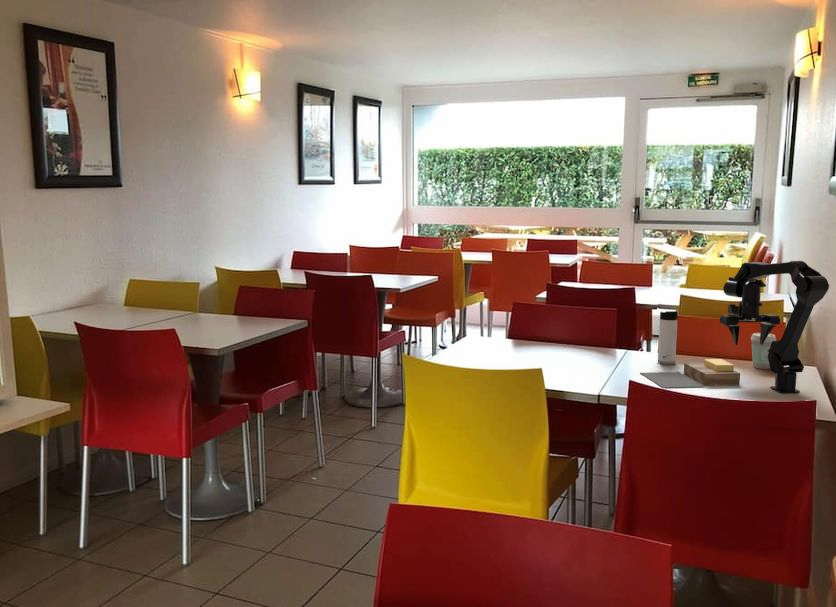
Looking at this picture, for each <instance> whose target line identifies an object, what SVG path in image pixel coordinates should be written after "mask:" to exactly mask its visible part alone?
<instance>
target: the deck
mask: <svg viewBox="0 0 836 607" xmlns="http://www.w3.org/2000/svg"><path fill="white" fill-rule="evenodd" d="M683 375H685V376H687V377H689V378H690V379H692V380H694V381H696V382H697V383H699V384H701V385H703V386H704V387H705V386H706V387H709V386H710V387H712V386H713V387H714V386H739V385H740V383H741V382H740V381H741V372H739V371H737V370H735V369H734V371H715V370H713V369H711V368H709V367H707V366H705V365H704V362H684V364H683Z"/></svg>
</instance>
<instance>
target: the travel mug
mask: <svg viewBox="0 0 836 607" xmlns="http://www.w3.org/2000/svg"><path fill="white" fill-rule="evenodd" d="M678 313H679V311H677V310H674V311H671V310H669V311H660V313H659V326H658V328H659V330H658V348H657V363H658V364H661V365H665V366H672V365H674V364H676V358H677V357H676V356H677V355H676V354H677V352H676V351H677V336H678V334H677V333H678V317H679V316H678V315H679V314H678Z"/></svg>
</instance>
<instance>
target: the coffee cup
mask: <svg viewBox="0 0 836 607" xmlns="http://www.w3.org/2000/svg"><path fill="white" fill-rule="evenodd" d="M760 333H761V332H755V333H752V335H751V337H750V340H751V354H752V355H751V356H752V357H751V358H752V367H753V368H755V367H756V368H755V369H761V370H765V369H766V370H767V369H769V370H770V365H769V360H768V353H769V352H768V350H769V348H770V346H771V343H772V341H777V337H776V335H775V334H773V333H769V334H768V336H767V338H766V340H765V341H764V343H763V345H761V344H760Z"/></svg>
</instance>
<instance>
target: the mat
mask: <svg viewBox="0 0 836 607" xmlns="http://www.w3.org/2000/svg"><path fill="white" fill-rule="evenodd" d="M639 374H640V375H642V376H643V377H645V378H646V379H648V380H649V381H650V382H652V383H654V384H655V385H657V386H659V387H660V388H662V387H663V388H662V389H688V388H691V389H692V388H693V389H695V388H698V389H699V388H705V386H704V385H702V384H701V383H699V382H697V381H695V380H693V379H692V378H690V377H688V376H686V375H685V374H684V373H681V372H679V371H663V372H662V371H660V372H659V371H656V372H654V371H653V372H651V371H650V372H649V371H648V372H640V373H639Z"/></svg>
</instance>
